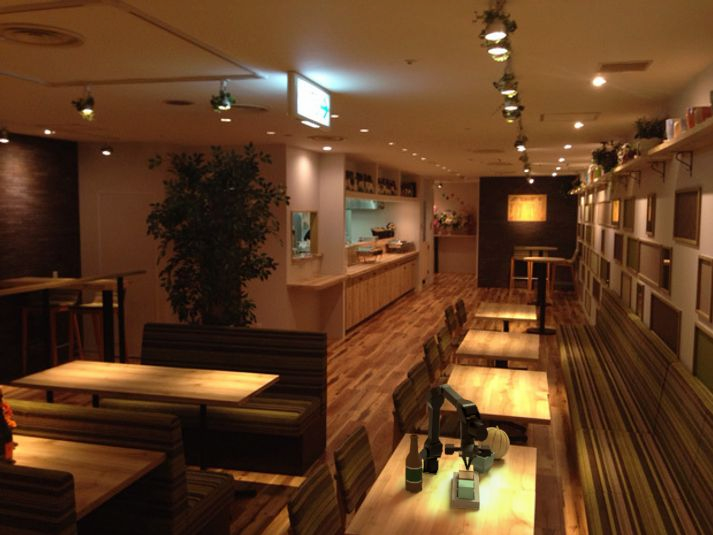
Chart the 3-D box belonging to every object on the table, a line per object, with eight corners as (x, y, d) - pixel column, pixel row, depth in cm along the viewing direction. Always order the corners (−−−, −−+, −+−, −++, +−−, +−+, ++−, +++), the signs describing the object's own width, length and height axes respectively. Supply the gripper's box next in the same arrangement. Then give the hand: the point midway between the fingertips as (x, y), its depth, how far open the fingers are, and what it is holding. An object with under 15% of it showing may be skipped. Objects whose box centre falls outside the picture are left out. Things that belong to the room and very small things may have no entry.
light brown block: (458, 481, 272) (458, 470, 271) (458, 474, 278) (459, 464, 277) (472, 482, 271) (473, 471, 270) (472, 475, 277) (473, 465, 276)
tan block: (458, 488, 264) (458, 477, 264) (458, 482, 270) (458, 471, 269) (473, 490, 263) (473, 478, 262) (473, 483, 269) (473, 472, 268)
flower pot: (494, 471, 287) (495, 452, 286) (484, 477, 281) (485, 458, 280) (478, 465, 293) (478, 447, 292) (467, 471, 287) (468, 452, 286)
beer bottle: (425, 486, 273) (425, 433, 270) (419, 494, 266) (419, 440, 263) (408, 483, 276) (408, 430, 273) (401, 491, 269) (402, 437, 266)
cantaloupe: (474, 461, 298) (475, 430, 296) (481, 449, 311) (481, 420, 310) (506, 466, 292) (507, 435, 290) (511, 454, 306) (512, 424, 304)
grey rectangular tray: (451, 507, 255) (452, 500, 255) (453, 478, 281) (453, 471, 280) (479, 509, 253) (479, 502, 253) (478, 480, 279) (478, 473, 278)
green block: (458, 498, 256) (458, 486, 256) (458, 491, 262) (458, 479, 262) (473, 499, 255) (473, 487, 255) (473, 492, 261) (473, 480, 261)
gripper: (444, 439, 252) (444, 477, 253) (492, 441, 249) (491, 479, 250) (444, 429, 263) (444, 465, 264) (490, 431, 260) (490, 468, 261)
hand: (467, 470), depth 260 cm, fingers closed
